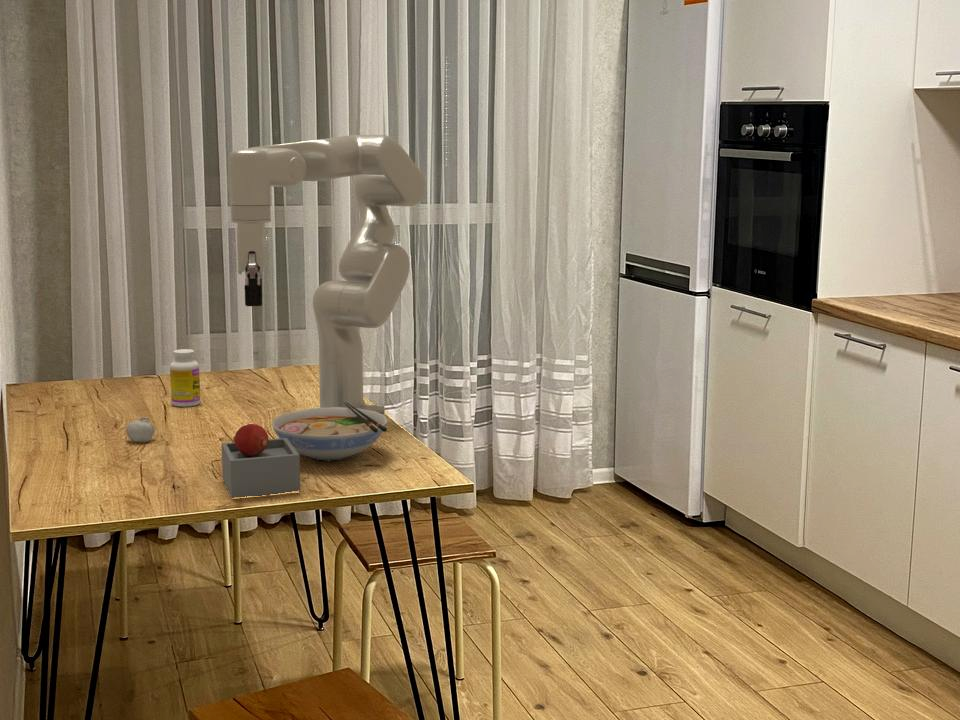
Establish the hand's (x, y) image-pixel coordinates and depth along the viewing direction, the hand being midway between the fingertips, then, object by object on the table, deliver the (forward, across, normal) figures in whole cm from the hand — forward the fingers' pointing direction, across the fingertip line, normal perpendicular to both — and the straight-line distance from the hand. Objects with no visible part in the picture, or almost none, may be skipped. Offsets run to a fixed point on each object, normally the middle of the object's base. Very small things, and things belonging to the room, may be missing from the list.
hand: (253, 302), depth 220 cm
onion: (+22, +25, +2) cm, 33 cm away
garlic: (+31, -12, -24) cm, 41 cm away
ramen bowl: (+31, +6, +14) cm, 34 cm away
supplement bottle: (+31, -44, -17) cm, 56 cm away
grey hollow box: (+31, +24, 0) cm, 39 cm away
